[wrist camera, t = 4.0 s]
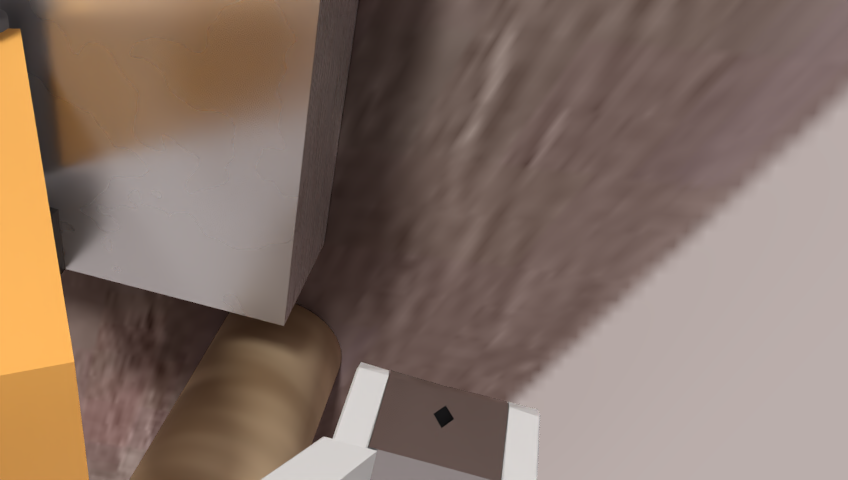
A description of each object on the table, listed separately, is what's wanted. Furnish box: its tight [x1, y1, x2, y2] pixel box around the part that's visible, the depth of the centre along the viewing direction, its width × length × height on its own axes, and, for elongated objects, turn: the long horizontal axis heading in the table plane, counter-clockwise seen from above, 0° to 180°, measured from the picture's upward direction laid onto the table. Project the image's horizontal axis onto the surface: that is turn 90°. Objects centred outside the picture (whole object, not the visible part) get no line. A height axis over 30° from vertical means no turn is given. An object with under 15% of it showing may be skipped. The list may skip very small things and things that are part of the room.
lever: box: [0, 9, 89, 480], centre depth 13 cm, size 2×4×11 cm
